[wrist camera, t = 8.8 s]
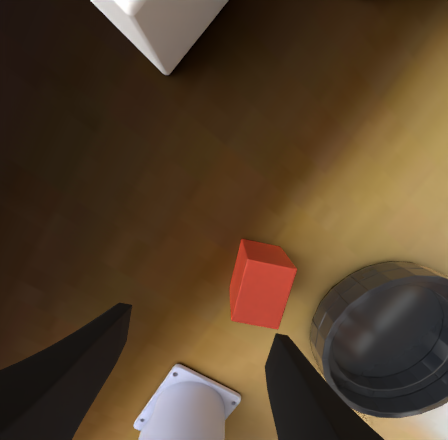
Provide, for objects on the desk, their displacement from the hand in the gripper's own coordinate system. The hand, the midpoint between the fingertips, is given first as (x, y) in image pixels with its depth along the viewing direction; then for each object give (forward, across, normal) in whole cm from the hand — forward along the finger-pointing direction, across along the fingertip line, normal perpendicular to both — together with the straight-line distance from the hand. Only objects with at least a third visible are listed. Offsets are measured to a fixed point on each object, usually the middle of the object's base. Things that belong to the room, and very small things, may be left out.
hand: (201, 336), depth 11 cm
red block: (+9, -4, 0) cm, 10 cm away
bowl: (+9, -18, +3) cm, 20 cm away
